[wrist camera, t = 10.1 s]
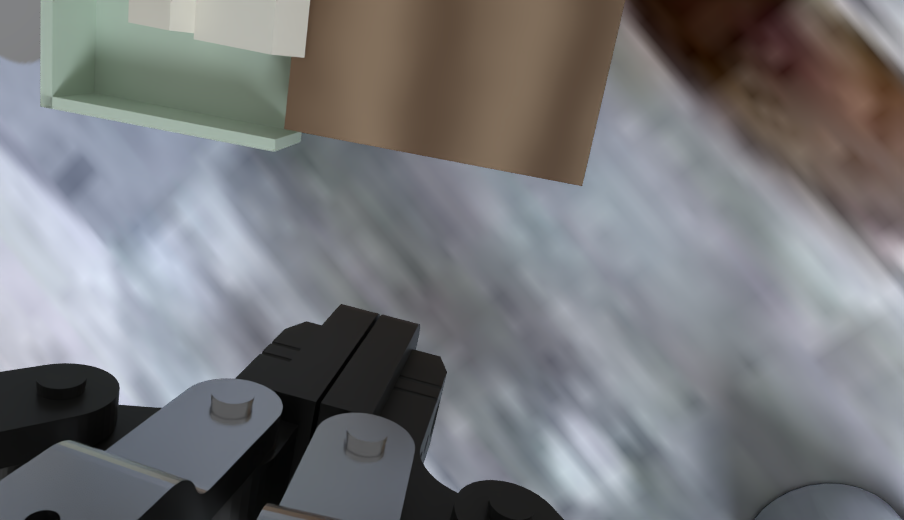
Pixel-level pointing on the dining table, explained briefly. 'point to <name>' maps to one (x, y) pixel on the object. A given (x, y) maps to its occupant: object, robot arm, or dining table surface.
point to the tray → (160, 77)
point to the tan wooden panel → (459, 79)
